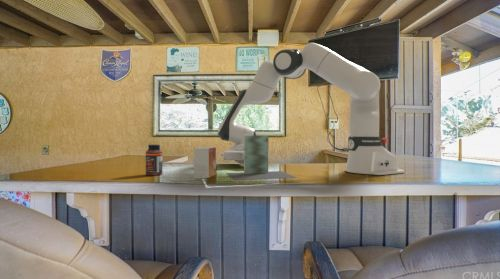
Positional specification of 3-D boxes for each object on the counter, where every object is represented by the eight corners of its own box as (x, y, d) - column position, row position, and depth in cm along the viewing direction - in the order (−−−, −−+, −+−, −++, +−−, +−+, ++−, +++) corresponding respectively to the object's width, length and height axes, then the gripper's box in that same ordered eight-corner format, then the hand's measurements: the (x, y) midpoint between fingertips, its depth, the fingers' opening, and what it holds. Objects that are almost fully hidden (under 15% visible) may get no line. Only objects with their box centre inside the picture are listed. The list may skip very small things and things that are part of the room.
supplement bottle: (142, 175, 103) (141, 144, 102) (152, 173, 108) (152, 144, 108) (156, 176, 101) (155, 145, 101) (165, 174, 107) (165, 144, 106)
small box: (208, 179, 95) (208, 148, 95) (193, 178, 96) (193, 148, 96) (216, 175, 103) (216, 147, 102) (201, 175, 104) (201, 146, 104)
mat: (281, 172, 111) (281, 171, 111) (297, 179, 95) (297, 177, 95) (225, 174, 105) (225, 173, 105) (233, 182, 90) (233, 180, 90)
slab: (267, 172, 107) (267, 135, 106) (268, 173, 105) (268, 135, 105) (244, 173, 105) (244, 135, 104) (244, 173, 103) (245, 135, 103)
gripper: (219, 147, 125) (224, 149, 112) (263, 146, 130) (273, 148, 117) (219, 161, 126) (224, 165, 112) (263, 160, 131) (273, 163, 117)
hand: (249, 156), depth 115 cm, fingers closed
